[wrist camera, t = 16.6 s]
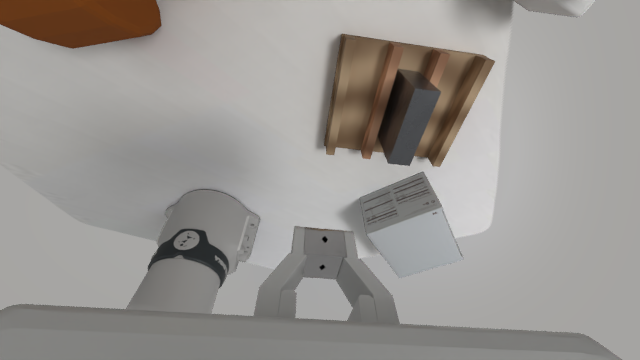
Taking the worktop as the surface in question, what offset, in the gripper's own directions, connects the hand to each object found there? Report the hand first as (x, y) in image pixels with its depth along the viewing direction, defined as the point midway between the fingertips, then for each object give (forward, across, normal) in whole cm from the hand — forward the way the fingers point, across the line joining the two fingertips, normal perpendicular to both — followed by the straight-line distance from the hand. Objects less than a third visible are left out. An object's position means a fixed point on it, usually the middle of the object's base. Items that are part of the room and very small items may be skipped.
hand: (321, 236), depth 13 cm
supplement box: (+29, +22, -24) cm, 43 cm away
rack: (+28, +12, -2) cm, 31 cm away
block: (+27, +12, -2) cm, 30 cm away
